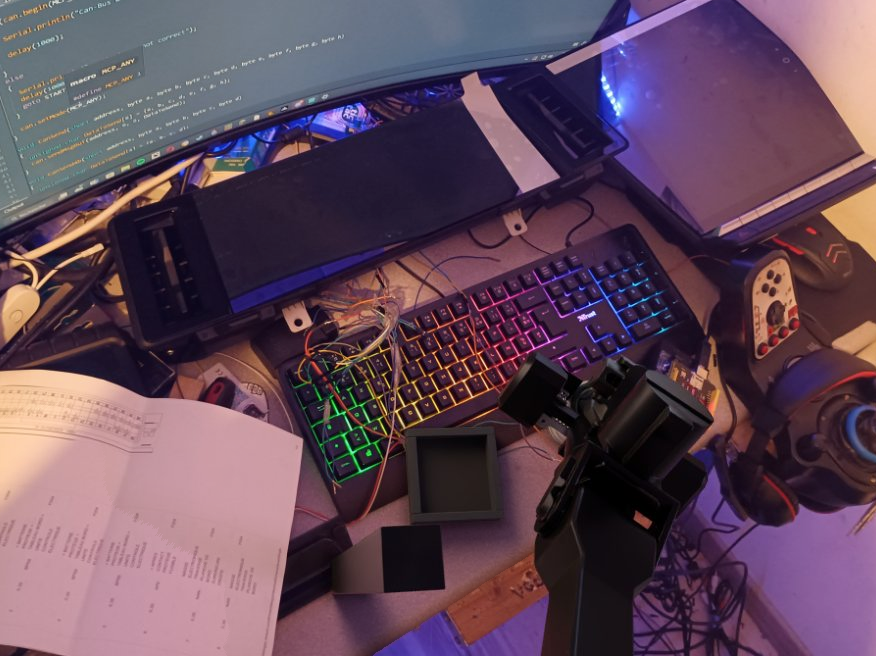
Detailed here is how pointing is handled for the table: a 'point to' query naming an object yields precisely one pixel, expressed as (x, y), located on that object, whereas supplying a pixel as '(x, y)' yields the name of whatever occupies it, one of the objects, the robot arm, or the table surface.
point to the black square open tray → (453, 475)
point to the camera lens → (575, 406)
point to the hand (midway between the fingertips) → (601, 400)
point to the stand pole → (392, 562)
